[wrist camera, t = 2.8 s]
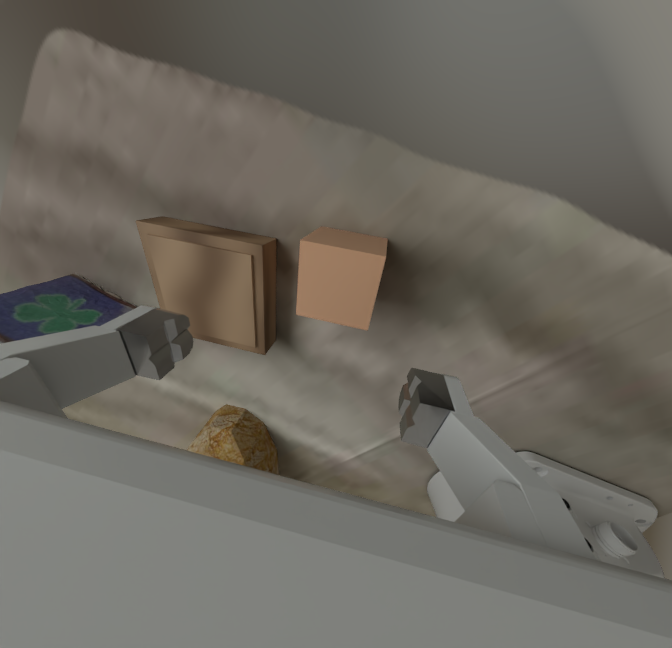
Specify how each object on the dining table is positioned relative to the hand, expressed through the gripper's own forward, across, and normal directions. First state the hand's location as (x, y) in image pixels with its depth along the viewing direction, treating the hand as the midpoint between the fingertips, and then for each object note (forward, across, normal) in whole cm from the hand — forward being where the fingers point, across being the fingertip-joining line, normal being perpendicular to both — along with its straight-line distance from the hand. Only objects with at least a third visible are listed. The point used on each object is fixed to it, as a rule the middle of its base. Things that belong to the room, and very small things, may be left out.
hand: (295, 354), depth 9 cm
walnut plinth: (+12, +10, +4) cm, 17 cm away
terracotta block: (+12, 0, 0) cm, 12 cm away
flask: (+13, +24, +10) cm, 29 cm away
